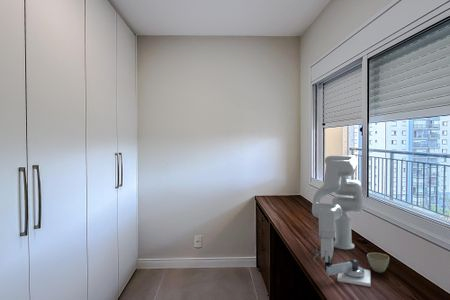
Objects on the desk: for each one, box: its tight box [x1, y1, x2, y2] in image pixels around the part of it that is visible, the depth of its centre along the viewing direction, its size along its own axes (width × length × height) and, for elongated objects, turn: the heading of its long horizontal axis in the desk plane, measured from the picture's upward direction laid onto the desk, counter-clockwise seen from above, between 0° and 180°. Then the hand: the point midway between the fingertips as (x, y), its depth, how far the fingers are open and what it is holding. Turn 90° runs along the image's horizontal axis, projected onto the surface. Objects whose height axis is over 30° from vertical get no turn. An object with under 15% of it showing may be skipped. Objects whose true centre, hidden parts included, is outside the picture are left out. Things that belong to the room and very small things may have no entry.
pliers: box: [312, 247, 325, 263], centre depth 165 cm, size 10×1×20 cm
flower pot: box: [366, 252, 390, 273], centre depth 144 cm, size 10×10×7 cm
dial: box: [325, 258, 365, 278], centre depth 137 cm, size 20×9×6 cm, turn 106°
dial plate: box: [336, 268, 371, 287], centre depth 138 cm, size 14×14×2 cm
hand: (328, 270), depth 138 cm, fingers closed
